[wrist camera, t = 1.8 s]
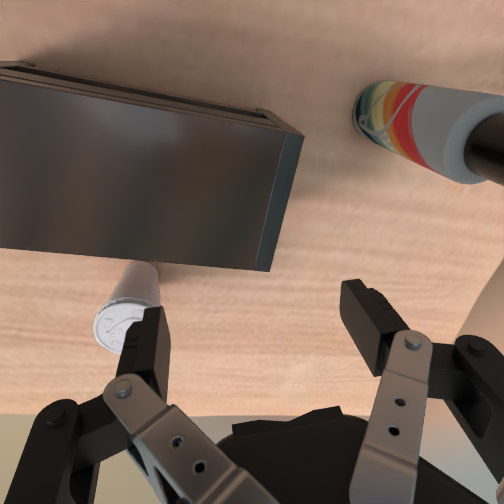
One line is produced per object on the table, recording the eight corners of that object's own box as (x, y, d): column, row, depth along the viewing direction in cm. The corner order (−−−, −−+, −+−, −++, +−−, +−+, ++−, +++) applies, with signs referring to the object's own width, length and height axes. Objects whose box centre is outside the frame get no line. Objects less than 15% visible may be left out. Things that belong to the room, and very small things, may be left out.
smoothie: (175, 291, 43) (169, 385, 31) (121, 301, 42) (94, 400, 30) (163, 245, 39) (151, 330, 27) (104, 255, 39) (67, 345, 27)
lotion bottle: (345, 94, 35) (500, 135, 17) (400, 69, 34) (613, 85, 17) (358, 148, 37) (501, 229, 20) (408, 125, 37) (598, 188, 20)
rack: (28, 186, 34) (-42, 244, 24) (16, 60, 29) (-79, 64, 19) (248, 214, 39) (269, 272, 29) (270, 110, 34) (305, 135, 24)
